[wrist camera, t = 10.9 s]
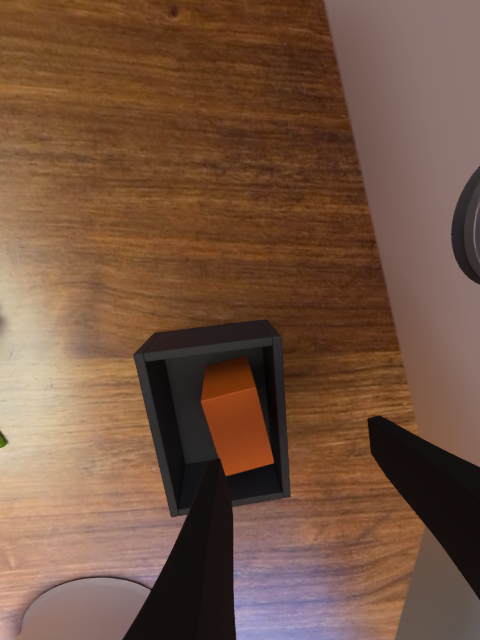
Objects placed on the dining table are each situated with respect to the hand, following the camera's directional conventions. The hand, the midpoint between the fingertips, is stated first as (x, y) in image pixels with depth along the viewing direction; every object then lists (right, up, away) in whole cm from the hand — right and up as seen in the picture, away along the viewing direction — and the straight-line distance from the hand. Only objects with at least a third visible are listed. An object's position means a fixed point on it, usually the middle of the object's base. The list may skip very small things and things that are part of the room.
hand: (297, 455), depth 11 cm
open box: (-4, 0, +9) cm, 10 cm away
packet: (-3, 0, +9) cm, 9 cm away
